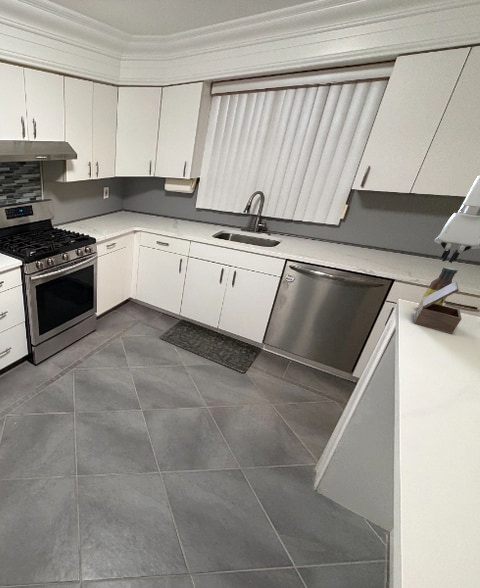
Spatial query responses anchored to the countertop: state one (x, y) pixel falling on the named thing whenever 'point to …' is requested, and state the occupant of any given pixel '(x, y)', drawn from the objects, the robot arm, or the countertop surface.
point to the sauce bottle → (440, 283)
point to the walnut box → (438, 317)
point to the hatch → (440, 294)
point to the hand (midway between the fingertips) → (446, 260)
